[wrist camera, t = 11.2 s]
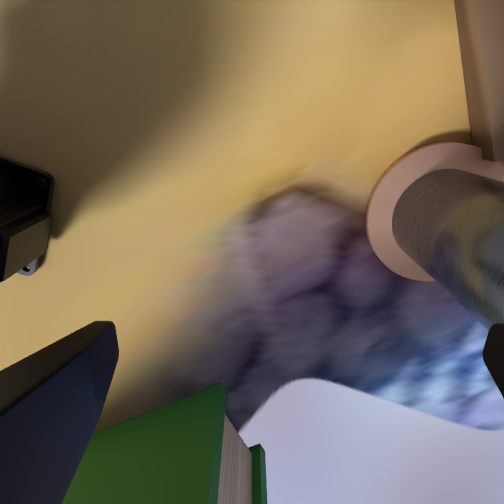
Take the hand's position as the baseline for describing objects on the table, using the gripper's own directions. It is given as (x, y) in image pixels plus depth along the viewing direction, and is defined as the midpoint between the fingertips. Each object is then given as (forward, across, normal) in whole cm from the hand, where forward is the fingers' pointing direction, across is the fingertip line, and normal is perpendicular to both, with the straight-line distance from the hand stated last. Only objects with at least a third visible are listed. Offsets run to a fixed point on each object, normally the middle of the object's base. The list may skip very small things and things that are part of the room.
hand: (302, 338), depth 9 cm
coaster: (+13, -9, 0) cm, 16 cm away
